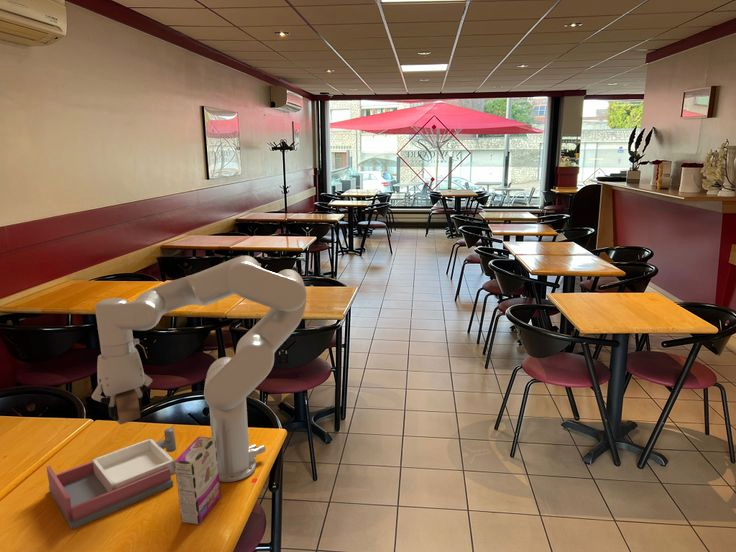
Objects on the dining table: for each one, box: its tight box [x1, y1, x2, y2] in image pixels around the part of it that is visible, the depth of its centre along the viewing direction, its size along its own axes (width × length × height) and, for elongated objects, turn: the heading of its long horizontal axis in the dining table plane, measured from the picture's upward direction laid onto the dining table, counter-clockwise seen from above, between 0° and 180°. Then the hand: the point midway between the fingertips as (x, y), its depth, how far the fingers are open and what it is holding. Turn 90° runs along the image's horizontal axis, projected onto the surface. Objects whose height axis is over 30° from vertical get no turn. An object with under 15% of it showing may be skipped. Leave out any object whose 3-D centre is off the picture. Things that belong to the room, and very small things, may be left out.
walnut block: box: [115, 389, 141, 425], centre depth 136 cm, size 5×5×7 cm
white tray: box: [91, 427, 177, 492], centre depth 143 cm, size 20×16×7 cm
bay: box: [46, 460, 174, 530], centre depth 137 cm, size 24×20×8 cm
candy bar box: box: [174, 436, 222, 526], centre depth 128 cm, size 11×5×16 cm, turn 168°
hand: (126, 414), depth 137 cm, fingers closed on walnut block, 5 cm apart
